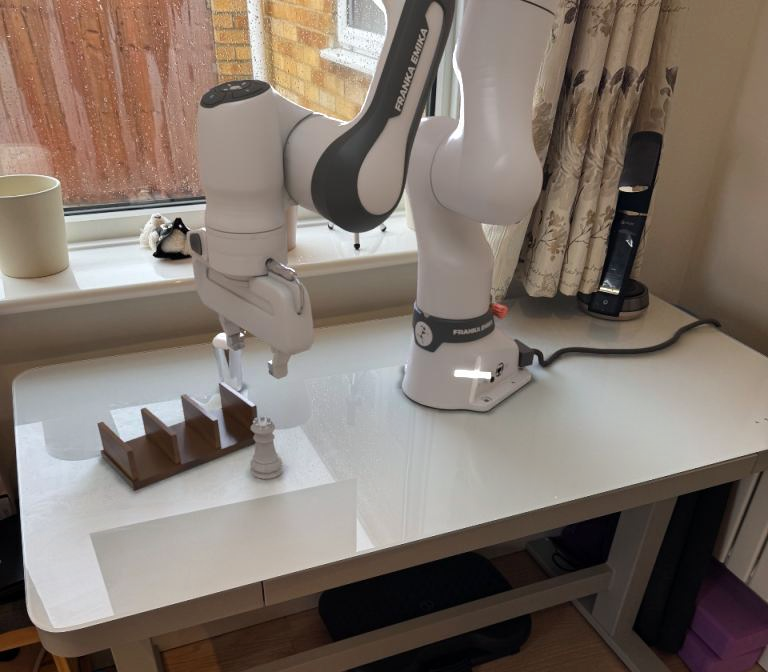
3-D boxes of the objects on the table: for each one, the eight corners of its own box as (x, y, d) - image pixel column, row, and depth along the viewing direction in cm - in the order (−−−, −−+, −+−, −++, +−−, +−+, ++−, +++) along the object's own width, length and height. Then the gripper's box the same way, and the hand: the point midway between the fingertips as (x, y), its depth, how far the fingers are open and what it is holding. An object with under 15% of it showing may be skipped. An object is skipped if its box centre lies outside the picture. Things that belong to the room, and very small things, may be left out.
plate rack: (227, 412, 114) (223, 379, 111) (263, 440, 108) (260, 406, 105) (101, 457, 104) (93, 422, 100) (134, 490, 98) (126, 454, 94)
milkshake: (245, 397, 118) (239, 338, 112) (213, 393, 119) (206, 334, 113) (255, 383, 122) (250, 326, 116) (224, 380, 123) (217, 322, 117)
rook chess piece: (281, 481, 100) (277, 430, 95) (248, 480, 100) (242, 429, 95) (285, 462, 104) (281, 412, 99) (253, 462, 104) (248, 411, 99)
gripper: (326, 269, 79) (328, 386, 87) (225, 221, 91) (235, 327, 100) (276, 281, 76) (283, 402, 84) (178, 230, 88) (193, 339, 96)
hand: (256, 361), depth 92 cm, fingers open, 8 cm apart
